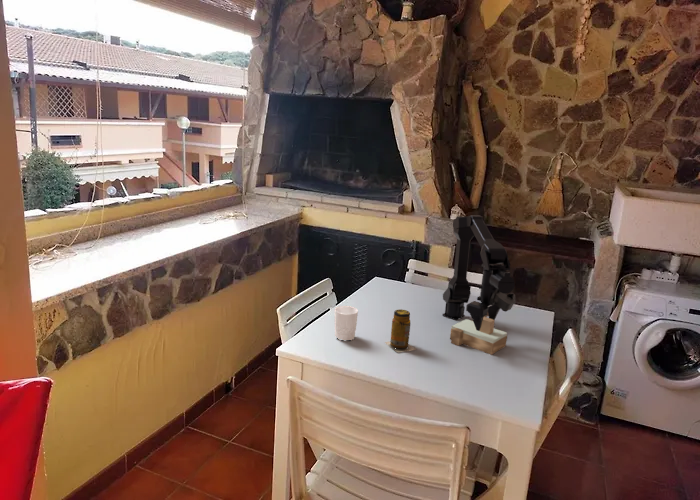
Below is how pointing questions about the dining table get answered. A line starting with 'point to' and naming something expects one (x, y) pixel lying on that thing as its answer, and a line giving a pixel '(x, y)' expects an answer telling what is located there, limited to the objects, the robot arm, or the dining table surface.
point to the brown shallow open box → (476, 342)
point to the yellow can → (400, 331)
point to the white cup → (345, 322)
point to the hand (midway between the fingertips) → (484, 326)
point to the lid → (481, 330)
